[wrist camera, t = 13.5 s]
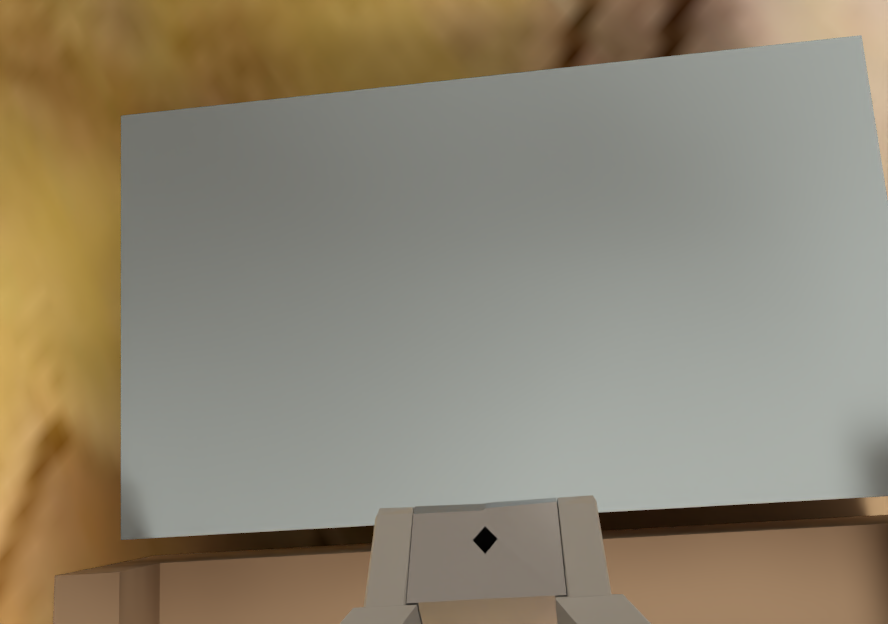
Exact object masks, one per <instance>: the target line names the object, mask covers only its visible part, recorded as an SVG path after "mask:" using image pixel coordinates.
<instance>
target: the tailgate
mask: <svg viewBox="0 0 888 624" xmlns="http://www.w3.org/2000/svg"><path fill="white" fill-rule="evenodd" d="M589 495H593V496H594V498H595V499H596V502H597V508H598V513H600V512H617V511H635V510H652V509H670V508H687V507H705V506H722V505H740V504H757V503H775V502H792V501H810V500H827V499H844V498H862V497H879V496H888V200H887V194H886V187H885V181H884V175H883V168H882V162H881V156H880V149H879V143H878V137H877V130H876V124H875V118H874V112H873V105H872V99H871V93H870V86H869V80H868V74H867V67H866V61H865V55H864V49H863V42H862V36H851V37H842V38H833V39H824V40H814V41H805V42H796V43H787V44H778V45H768V46H759V47H750V48H741V49H732V50H722V51H713V52H704V53H695V54H685V55H676V56H667V57H658V58H649V59H639V60H630V61H621V62H612V63H602V64H593V65H584V66H575V67H566V68H556V69H547V70H538V71H529V72H520V73H510V74H501V75H492V76H483V77H473V78H464V79H455V80H446V81H437V82H427V83H418V84H409V85H400V86H390V87H381V88H372V89H363V90H354V91H344V92H335V93H326V94H317V95H307V96H298V97H289V98H280V99H271V100H261V101H252V102H243V103H234V104H225V105H215V106H206V107H197V108H188V109H178V110H169V111H160V112H151V113H142V114H132V115H123V116H121V540H128V539H145V538H162V537H180V536H197V535H215V534H232V533H250V532H267V531H285V530H302V529H320V528H337V527H355V526H372V525H375V518H376V516H377V513H378V511H379V509H380V508H399V507H415V506H436V505H463V504H485V503H489V502H503V501H516V500H530V499H543V498H556V501H557V498H560V497H575V496H589Z"/></svg>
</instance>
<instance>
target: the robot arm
mask: <svg viewBox="0 0 888 624" xmlns="http://www.w3.org/2000/svg"><path fill="white" fill-rule="evenodd" d="M340 624H651V623H650V622H649V621H648V620H647V619H646V618H645V617H644V616H643V615H642V614H641V613H640V612H639V610H638V609H637V608H636V607H635V606H634V605H633V604H632V603H631V602H630V601H629V600H628V599H627V598H626V597H625V596H624V595H623V594H611V588H610V582H609V576H608V570H607V563H606V557H605V551H604V545H603V539H602V533H601V526H600V520H599V514H598V508H597V502H596V499H595V498H594V496H593V495H589V496H575V497H560V498H557V501H556V498H543V499H530V500H516V501H503V502H489V503H485V504H463V505H436V506H415V507H399V508H380V509H379V511H378V513H377V516H376V518H375V525H374V533H373V540H372V548H371V555H370V563H369V571H368V578H367V586H366V593H365V601H364V607H359V608H353V609H352V610H351V611H350V612H349V613H348V615H347V616H346V617H345V618H344V619H343V620H342V622H341V623H340Z"/></svg>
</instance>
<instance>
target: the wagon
mask: <svg viewBox="0 0 888 624" xmlns="http://www.w3.org/2000/svg"><path fill="white" fill-rule="evenodd" d="M601 533H602V539H603V545H604V551H605V557H606V563H607V570H608V576H609V582H610V588H611V594H623V595H624V596H625V597H626V598H627V599H628V600H629V601H630V602H631V603H632V604H633V605H634V606H635V607H636V608H637V609H638V610H639V612H640V613H641V614H642V615H643V616H644V617H645V618H646V619H647V620H648V621H649V622H650V623H651V624H888V515H877V516H859V517H841V518H823V519H804V520H786V521H768V522H750V523H732V524H714V525H695V526H677V527H659V528H641V529H623V530H605V531H601ZM371 548H372V543H369V544H351V545H332V546H314V547H296V548H278V549H260V550H242V551H224V552H205V553H187V554H169V555H155V556H150V557H145V558H140V559H135V560H130V561H125V562H120V563H115V564H110V565H105V566H100V567H95V568H90V569H85V570H80V571H76V572H71V573H66V574H61V575H56V576H55V585H54V616H53V624H340V623H341V622H342V620H343V619H344V618H345V617H346V616H347V615H348V613H349V612H350V611H351V610H352V609H353V608H359V607H364V601H365V593H366V586H367V578H368V571H369V563H370V555H371Z"/></svg>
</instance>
